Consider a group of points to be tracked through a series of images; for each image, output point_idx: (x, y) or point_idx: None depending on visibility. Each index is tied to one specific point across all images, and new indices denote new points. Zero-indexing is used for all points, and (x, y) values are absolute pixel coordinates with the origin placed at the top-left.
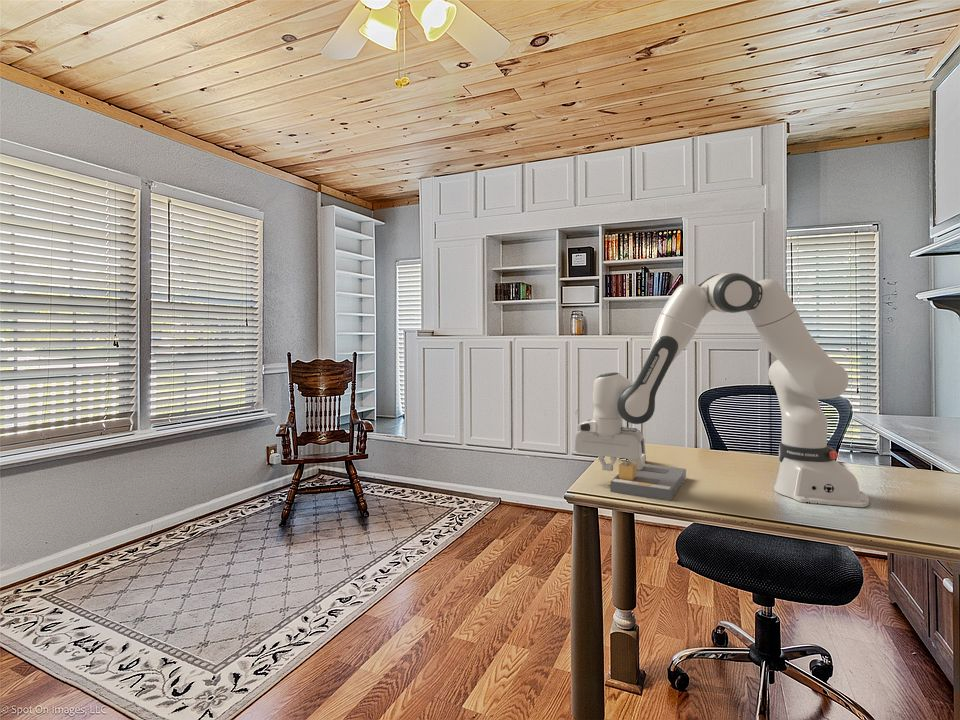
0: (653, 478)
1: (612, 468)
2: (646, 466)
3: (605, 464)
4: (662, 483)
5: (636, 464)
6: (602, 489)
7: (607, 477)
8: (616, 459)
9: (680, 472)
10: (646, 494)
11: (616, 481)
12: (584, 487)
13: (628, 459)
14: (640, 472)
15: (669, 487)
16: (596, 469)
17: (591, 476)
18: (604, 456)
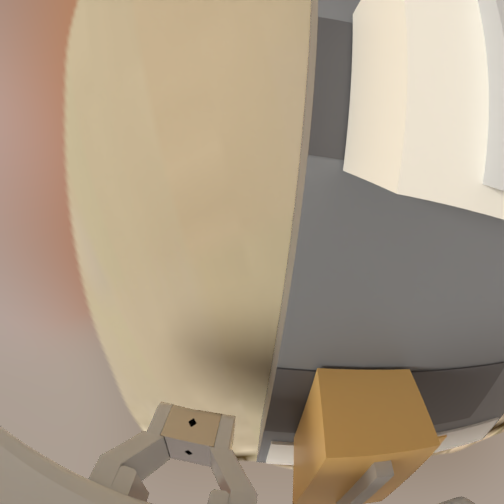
0: (488, 354)
1: (232, 433)
2: None
3: (173, 452)
4: (493, 398)
5: (432, 442)
6: (219, 410)
7: (171, 202)
8: (256, 495)
9: None
10: None
11: (287, 464)
12: (141, 399)
13: (378, 185)
14: (448, 255)
15: (490, 427)
16: (72, 58)
17: (83, 224)
18: (136, 488)
